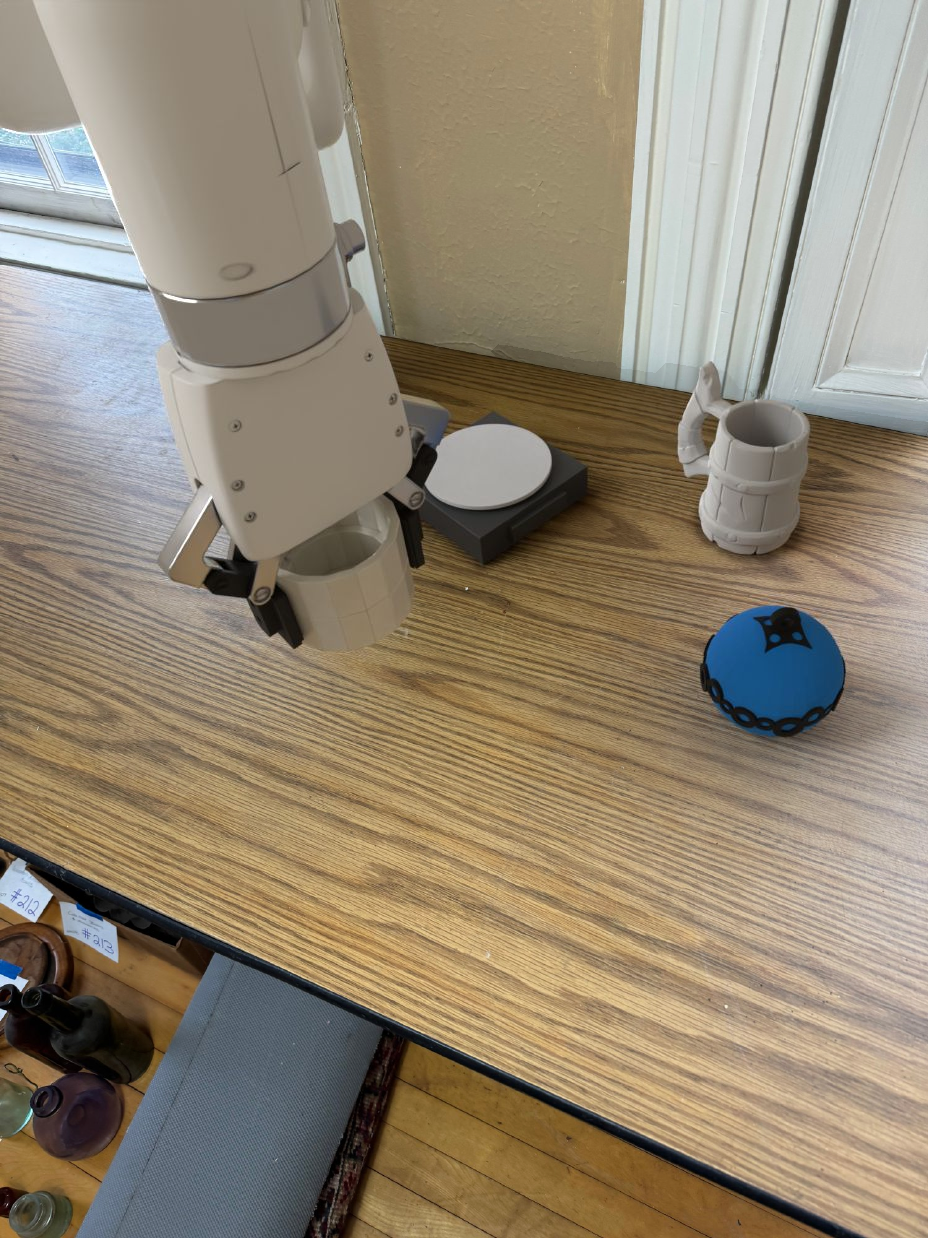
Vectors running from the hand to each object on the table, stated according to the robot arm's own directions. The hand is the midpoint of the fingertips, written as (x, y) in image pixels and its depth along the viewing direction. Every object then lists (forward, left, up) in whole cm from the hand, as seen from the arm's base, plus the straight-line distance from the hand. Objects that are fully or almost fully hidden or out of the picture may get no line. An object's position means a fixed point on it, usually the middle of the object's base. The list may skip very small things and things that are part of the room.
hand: (346, 591), depth 47 cm
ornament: (+15, +20, -16) cm, 29 cm away
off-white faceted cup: (0, 0, -1) cm, 1 cm away
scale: (-15, +22, -15) cm, 30 cm away
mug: (+1, +34, -15) cm, 37 cm away
